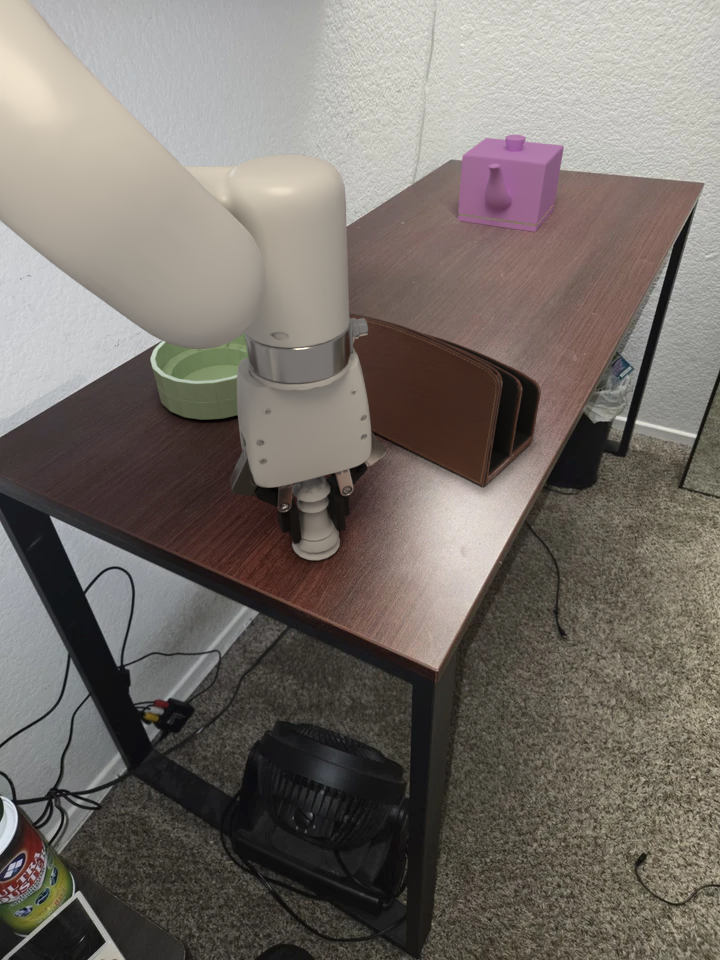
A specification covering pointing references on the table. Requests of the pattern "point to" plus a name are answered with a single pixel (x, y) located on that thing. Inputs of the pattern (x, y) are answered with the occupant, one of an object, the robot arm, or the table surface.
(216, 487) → the table surface
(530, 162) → the teapot
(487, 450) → the letter holder
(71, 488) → the table surface
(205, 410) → the bowl
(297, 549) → the rook chess piece
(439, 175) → the table surface
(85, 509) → the table surface
